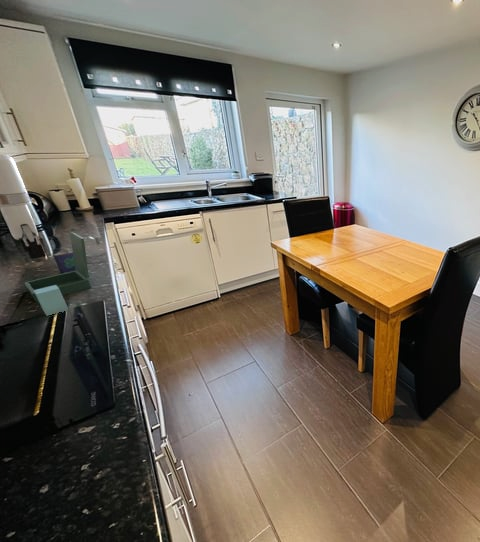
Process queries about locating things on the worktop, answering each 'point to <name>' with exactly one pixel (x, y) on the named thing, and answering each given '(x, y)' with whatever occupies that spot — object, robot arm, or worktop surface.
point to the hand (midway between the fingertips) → (35, 254)
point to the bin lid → (80, 253)
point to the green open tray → (60, 283)
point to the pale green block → (51, 300)
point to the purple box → (65, 261)
